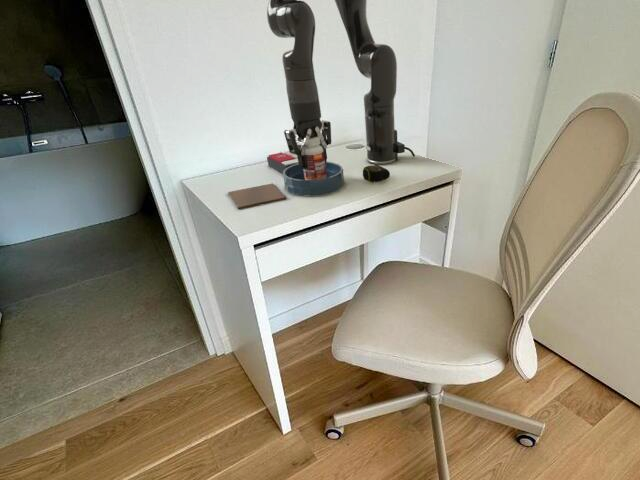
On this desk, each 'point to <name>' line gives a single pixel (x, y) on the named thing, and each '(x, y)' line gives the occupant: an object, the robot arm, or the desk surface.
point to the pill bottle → (314, 160)
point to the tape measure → (375, 173)
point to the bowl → (304, 187)
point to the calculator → (282, 161)
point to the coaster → (256, 196)
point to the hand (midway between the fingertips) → (314, 164)
